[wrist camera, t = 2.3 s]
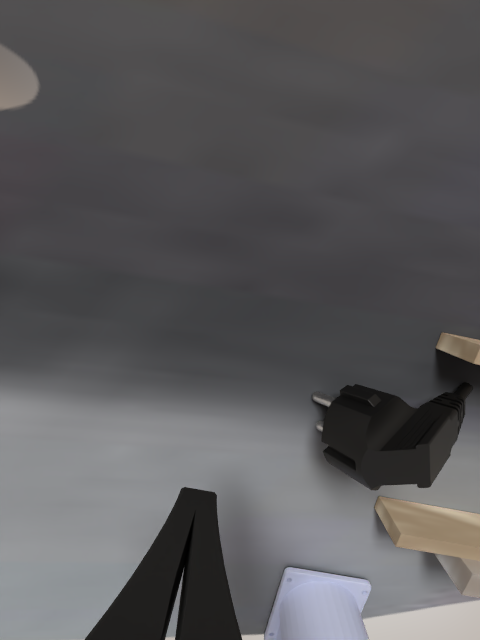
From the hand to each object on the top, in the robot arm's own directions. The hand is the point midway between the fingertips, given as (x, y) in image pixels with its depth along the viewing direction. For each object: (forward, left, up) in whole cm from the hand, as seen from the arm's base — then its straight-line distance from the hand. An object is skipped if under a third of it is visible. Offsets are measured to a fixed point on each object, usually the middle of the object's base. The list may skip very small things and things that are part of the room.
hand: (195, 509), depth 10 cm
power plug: (+2, -13, -10) cm, 16 cm away
